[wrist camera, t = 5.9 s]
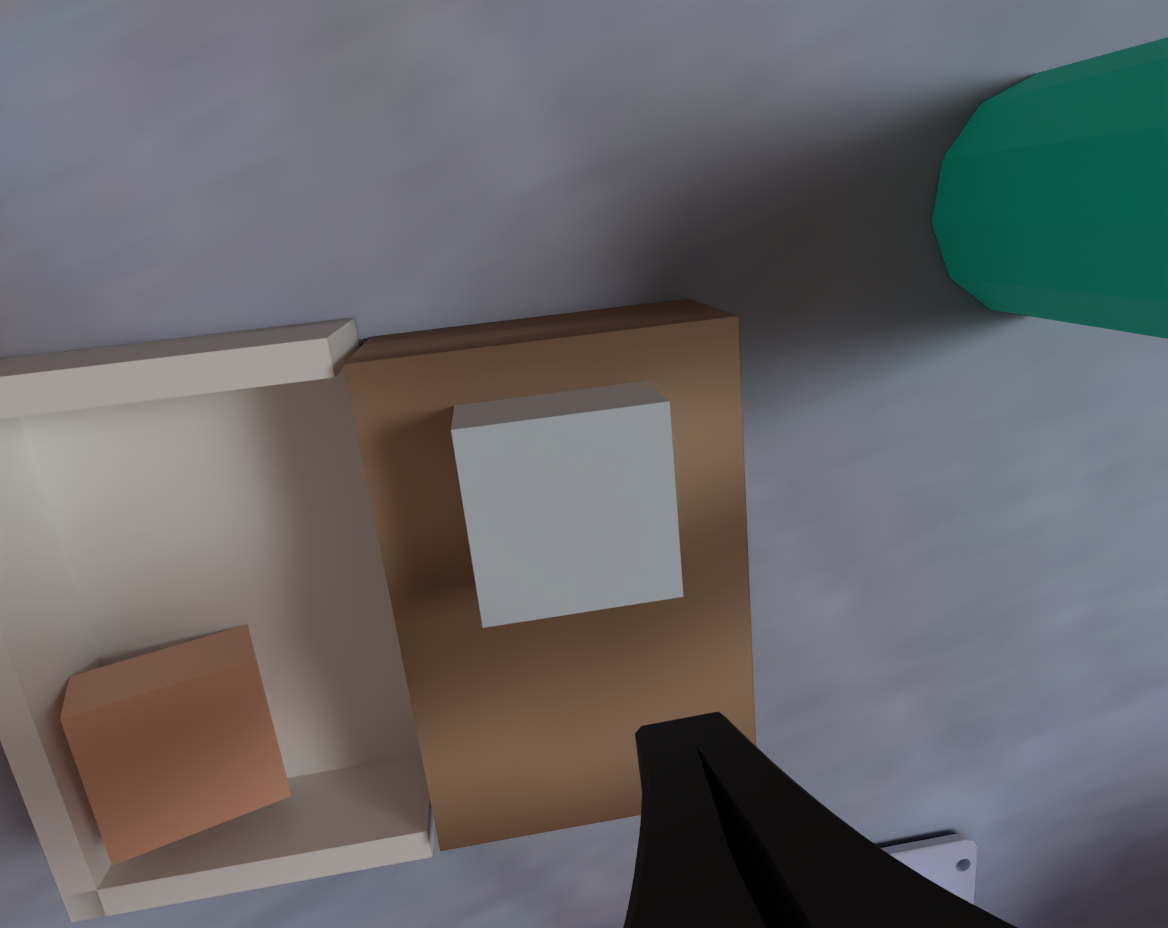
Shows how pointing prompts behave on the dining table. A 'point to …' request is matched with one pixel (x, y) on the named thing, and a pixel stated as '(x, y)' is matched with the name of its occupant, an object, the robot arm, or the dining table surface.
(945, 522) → the dining table surface
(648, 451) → the grey rectangular prism
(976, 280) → the candle
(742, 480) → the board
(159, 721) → the tile terracotta
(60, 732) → the tray
